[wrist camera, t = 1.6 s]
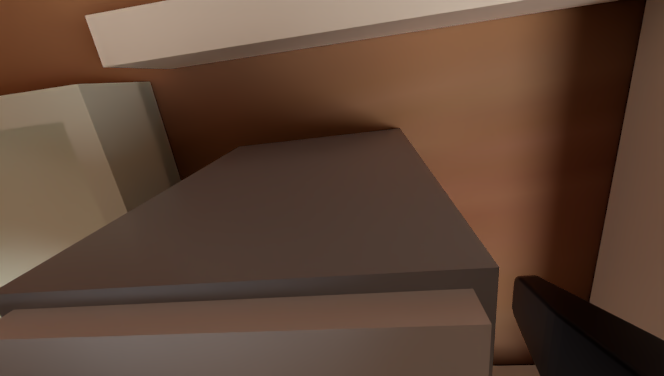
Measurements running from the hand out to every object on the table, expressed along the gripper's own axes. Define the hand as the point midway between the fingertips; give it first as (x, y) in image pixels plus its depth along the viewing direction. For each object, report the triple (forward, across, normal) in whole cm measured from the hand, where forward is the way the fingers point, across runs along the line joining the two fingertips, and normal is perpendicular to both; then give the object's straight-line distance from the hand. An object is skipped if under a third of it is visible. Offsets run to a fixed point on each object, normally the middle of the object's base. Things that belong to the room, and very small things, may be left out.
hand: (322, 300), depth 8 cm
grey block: (+3, 0, 0) cm, 3 cm away
